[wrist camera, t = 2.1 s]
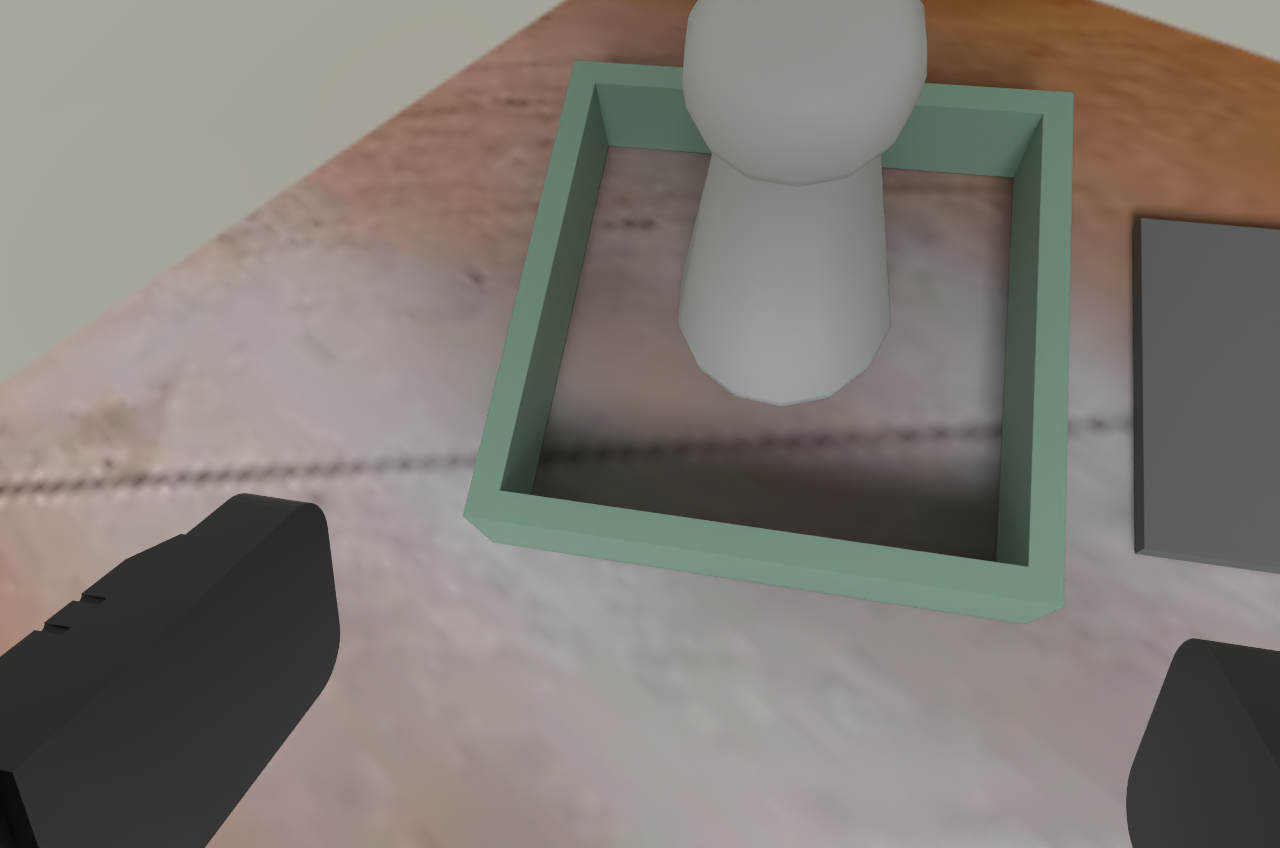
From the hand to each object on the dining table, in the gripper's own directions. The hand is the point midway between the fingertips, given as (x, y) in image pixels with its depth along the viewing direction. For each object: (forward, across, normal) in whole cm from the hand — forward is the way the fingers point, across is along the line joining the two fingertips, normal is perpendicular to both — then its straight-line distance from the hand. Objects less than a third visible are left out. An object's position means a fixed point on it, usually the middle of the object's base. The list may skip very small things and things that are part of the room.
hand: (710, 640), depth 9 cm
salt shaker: (+19, 0, +4) cm, 19 cm away
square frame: (+19, 0, +4) cm, 19 cm away
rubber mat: (+19, -15, +4) cm, 24 cm away
